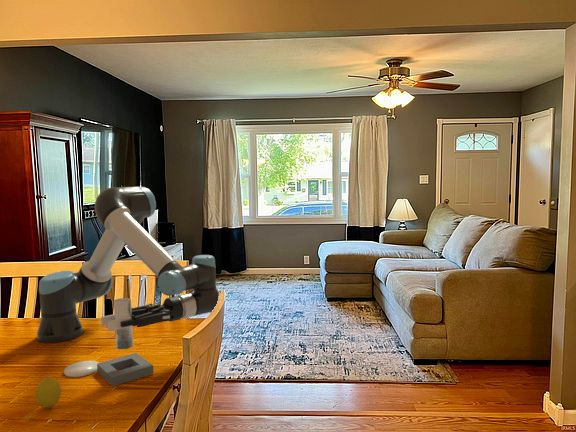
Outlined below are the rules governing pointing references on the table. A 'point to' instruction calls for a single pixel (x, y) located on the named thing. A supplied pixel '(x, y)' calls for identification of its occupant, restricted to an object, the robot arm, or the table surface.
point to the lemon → (48, 392)
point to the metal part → (124, 334)
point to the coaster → (81, 369)
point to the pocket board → (118, 377)
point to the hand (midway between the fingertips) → (105, 324)
